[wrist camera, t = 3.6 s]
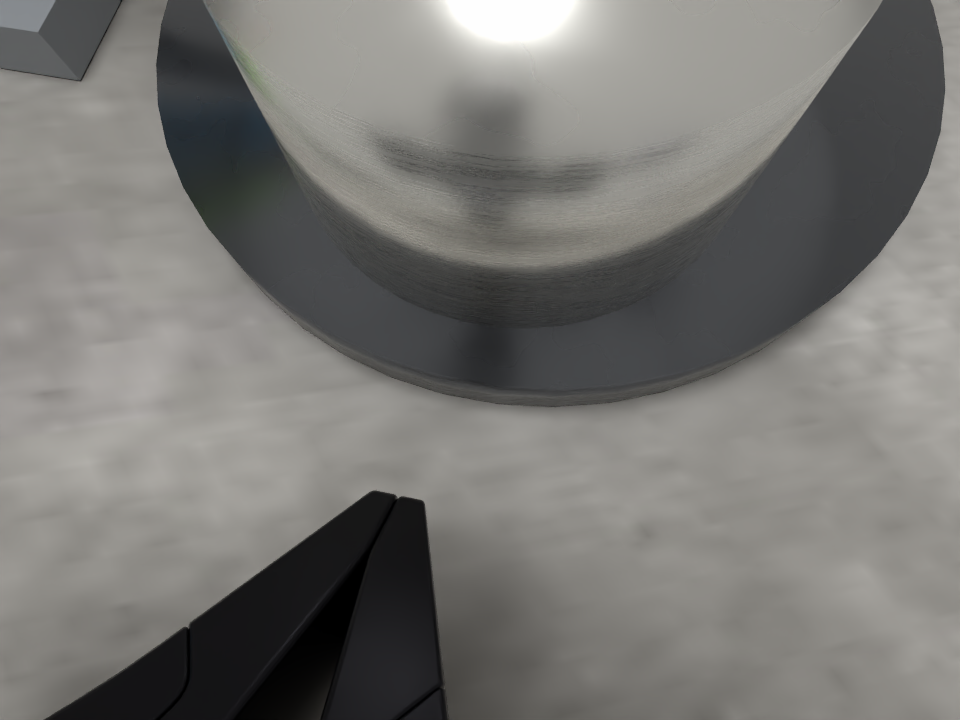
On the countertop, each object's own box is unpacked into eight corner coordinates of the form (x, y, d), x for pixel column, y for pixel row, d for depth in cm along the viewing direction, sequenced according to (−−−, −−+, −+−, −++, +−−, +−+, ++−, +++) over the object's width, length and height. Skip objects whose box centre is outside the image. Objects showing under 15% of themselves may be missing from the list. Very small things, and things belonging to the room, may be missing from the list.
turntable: (1063, 166, 19) (1142, 111, 16) (391, 574, 15) (374, 577, 13) (626, -240, 25) (639, -319, 23) (92, -19, 22) (45, -85, 20)
